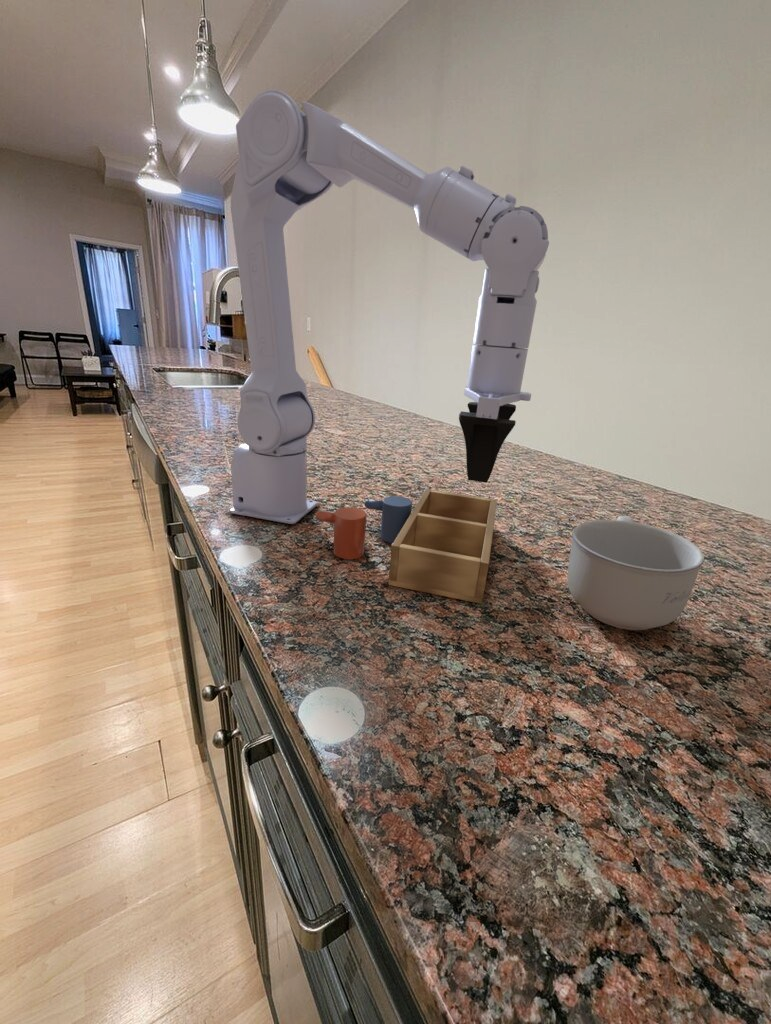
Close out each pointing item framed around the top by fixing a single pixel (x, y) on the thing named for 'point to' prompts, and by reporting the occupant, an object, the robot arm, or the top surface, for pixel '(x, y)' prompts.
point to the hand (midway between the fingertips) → (480, 470)
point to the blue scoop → (391, 515)
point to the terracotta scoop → (347, 531)
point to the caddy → (445, 546)
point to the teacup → (631, 572)
